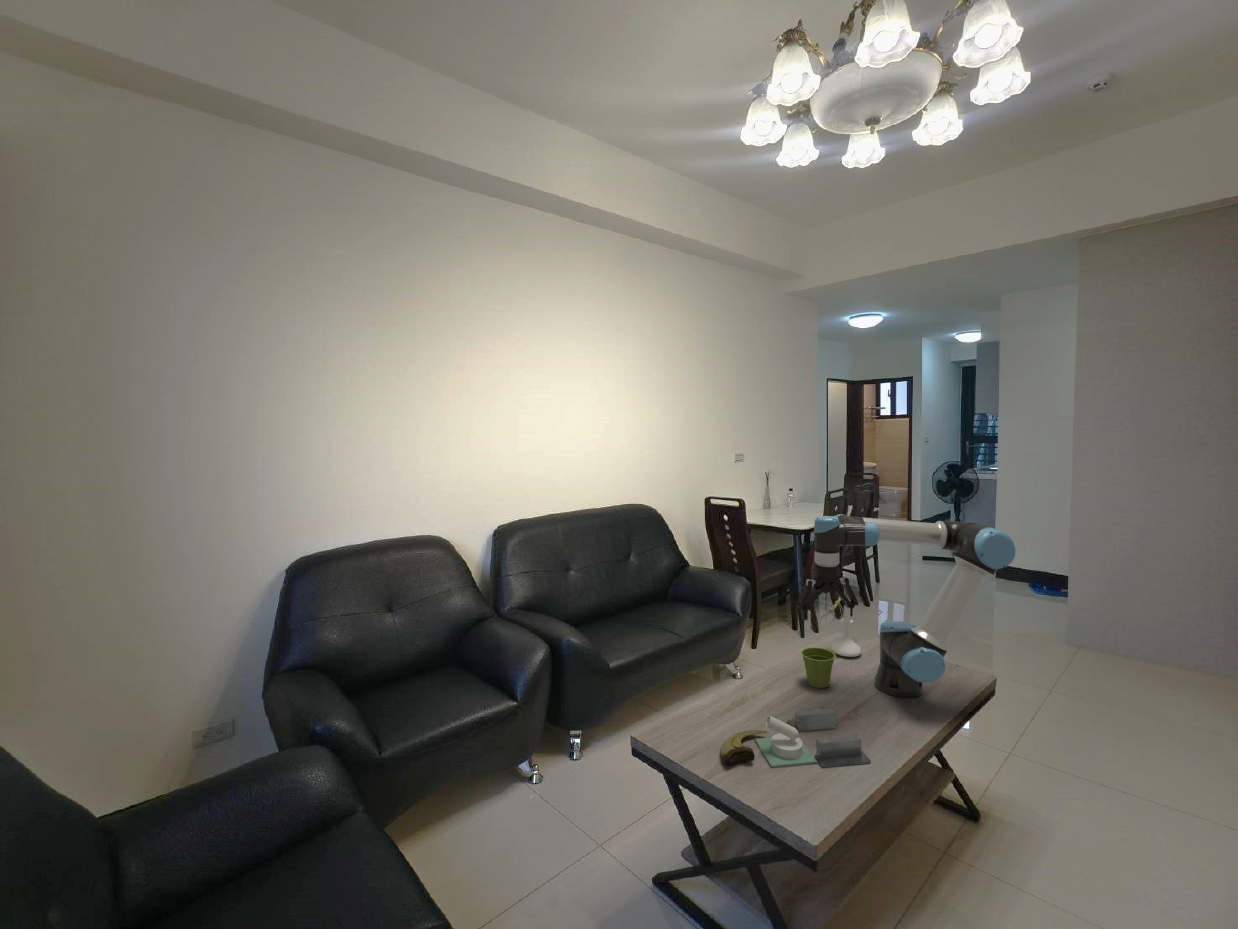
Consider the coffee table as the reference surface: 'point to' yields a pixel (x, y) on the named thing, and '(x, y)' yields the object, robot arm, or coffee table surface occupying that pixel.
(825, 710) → the vise
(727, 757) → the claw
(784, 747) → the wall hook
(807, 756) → the felt pad
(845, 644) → the flower in vase
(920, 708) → the coffee table surface
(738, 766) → the coffee table surface
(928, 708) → the coffee table surface
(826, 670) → the plant pot
